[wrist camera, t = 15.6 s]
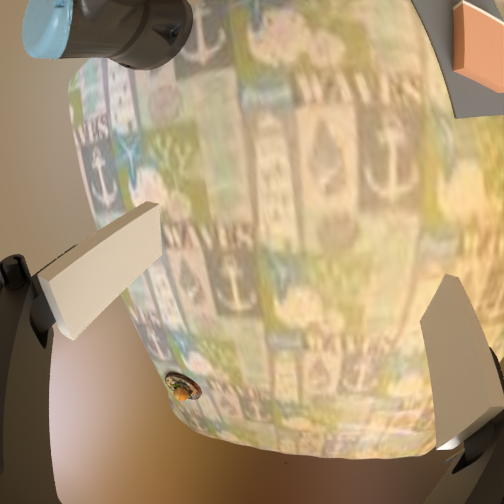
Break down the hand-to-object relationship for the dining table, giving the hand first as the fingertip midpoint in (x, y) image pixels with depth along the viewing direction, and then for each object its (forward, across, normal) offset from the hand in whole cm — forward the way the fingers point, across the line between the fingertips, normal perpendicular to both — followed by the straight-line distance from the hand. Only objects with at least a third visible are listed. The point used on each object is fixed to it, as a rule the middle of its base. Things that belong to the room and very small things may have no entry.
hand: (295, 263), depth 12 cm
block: (+26, +19, +17) cm, 37 cm away
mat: (+29, +20, +23) cm, 42 cm away
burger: (+29, -25, -70) cm, 80 cm away
